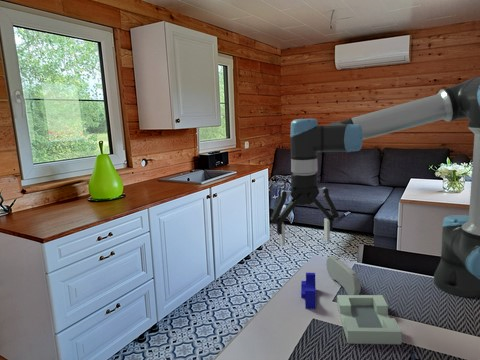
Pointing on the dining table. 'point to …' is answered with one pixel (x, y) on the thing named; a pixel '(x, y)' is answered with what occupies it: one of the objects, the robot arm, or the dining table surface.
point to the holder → (367, 320)
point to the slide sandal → (343, 275)
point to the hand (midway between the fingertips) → (304, 242)
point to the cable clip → (309, 291)
